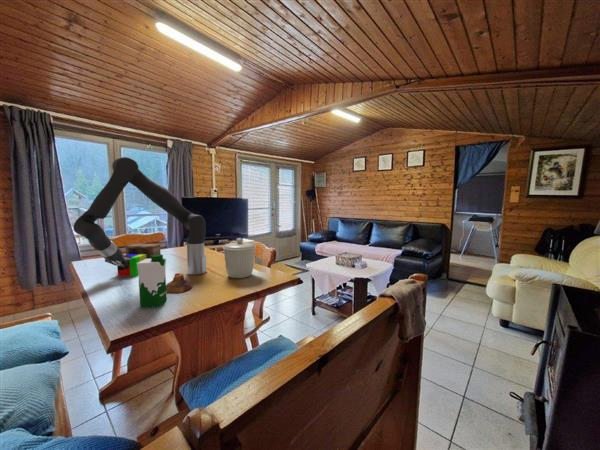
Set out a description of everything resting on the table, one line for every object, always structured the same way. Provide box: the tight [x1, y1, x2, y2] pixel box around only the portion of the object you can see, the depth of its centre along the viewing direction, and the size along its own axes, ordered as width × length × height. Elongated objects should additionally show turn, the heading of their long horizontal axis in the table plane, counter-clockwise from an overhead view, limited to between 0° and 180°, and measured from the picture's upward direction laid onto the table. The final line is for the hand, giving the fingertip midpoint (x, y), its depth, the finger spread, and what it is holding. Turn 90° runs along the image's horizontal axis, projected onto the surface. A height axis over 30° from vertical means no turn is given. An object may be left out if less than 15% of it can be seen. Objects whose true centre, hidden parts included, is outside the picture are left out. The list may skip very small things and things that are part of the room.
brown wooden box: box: [125, 243, 161, 259], centre depth 155 cm, size 16×8×14 cm, turn 90°
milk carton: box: [137, 254, 168, 309], centre depth 104 cm, size 9×9×20 cm
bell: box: [166, 273, 193, 294], centre depth 122 cm, size 12×12×7 cm
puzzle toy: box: [116, 254, 147, 277], centre depth 145 cm, size 10×10×10 cm
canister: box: [222, 237, 257, 279], centre depth 143 cm, size 18×18×21 cm
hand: (126, 267), depth 140 cm, fingers closed
